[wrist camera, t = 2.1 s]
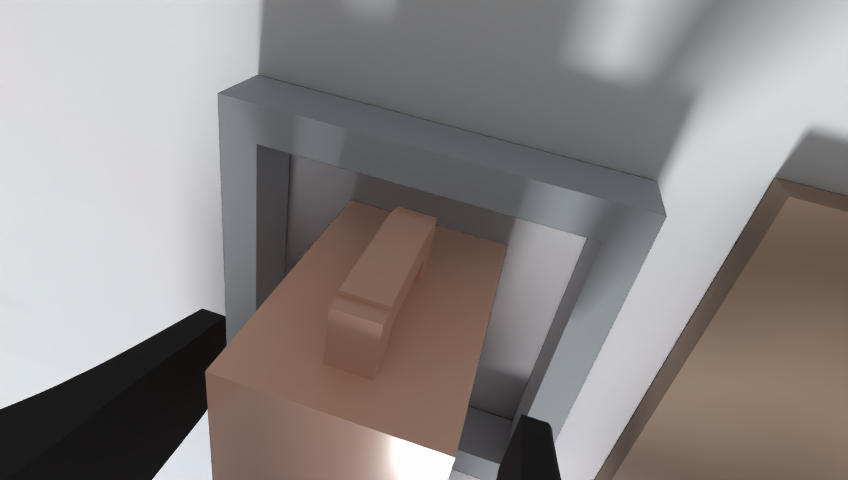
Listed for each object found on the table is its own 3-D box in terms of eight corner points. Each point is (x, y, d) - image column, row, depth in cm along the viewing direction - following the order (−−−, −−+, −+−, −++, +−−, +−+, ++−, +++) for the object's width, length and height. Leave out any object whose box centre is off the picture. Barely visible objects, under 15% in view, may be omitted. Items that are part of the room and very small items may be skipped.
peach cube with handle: (470, 362, 17) (410, 588, 11) (337, 319, 18) (215, 513, 12) (522, 198, 14) (475, 398, 8) (356, 151, 14) (200, 307, 9)
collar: (533, 448, 18) (528, 495, 17) (256, 355, 20) (228, 391, 18) (657, 181, 13) (666, 216, 11) (257, 75, 14) (217, 93, 12)
